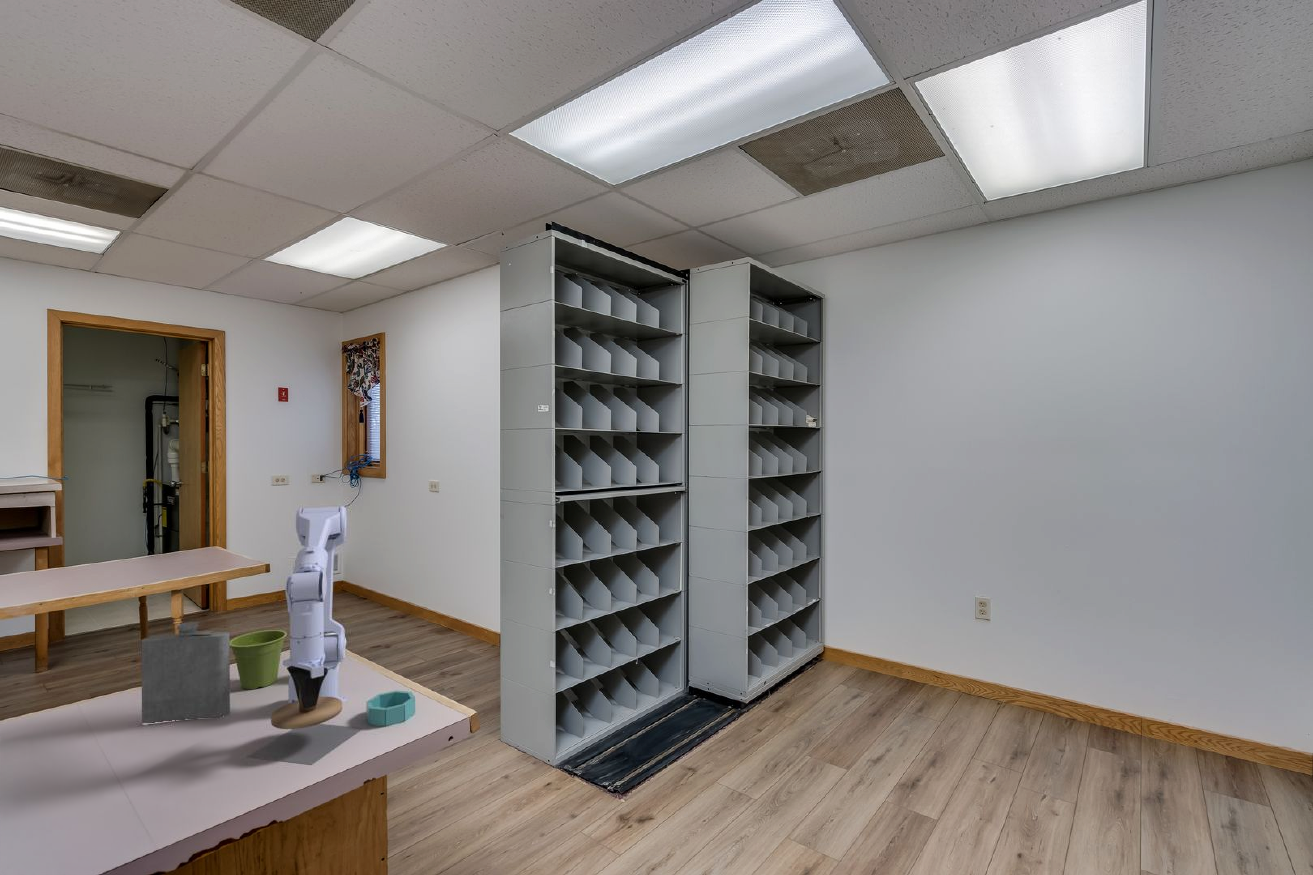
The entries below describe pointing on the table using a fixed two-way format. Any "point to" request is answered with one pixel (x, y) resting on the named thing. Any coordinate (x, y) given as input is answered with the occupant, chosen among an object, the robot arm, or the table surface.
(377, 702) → the bowl
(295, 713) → the lid
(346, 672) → the table surface
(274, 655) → the plant pot
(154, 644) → the hip flask
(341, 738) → the mat
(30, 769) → the table surface
